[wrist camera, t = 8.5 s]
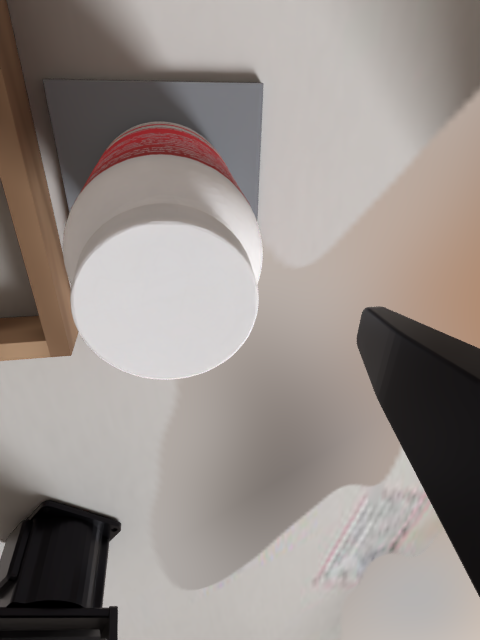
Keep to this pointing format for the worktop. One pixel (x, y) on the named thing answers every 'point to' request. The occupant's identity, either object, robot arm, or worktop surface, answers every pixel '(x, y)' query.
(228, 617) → the worktop surface
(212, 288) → the pill bottle
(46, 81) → the mat
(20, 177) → the rack
